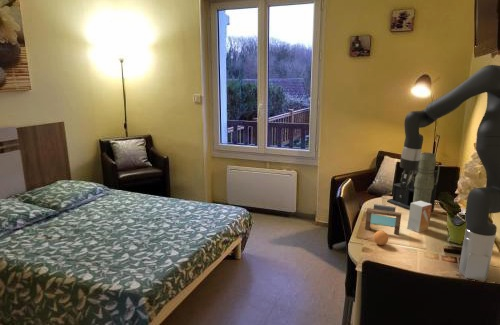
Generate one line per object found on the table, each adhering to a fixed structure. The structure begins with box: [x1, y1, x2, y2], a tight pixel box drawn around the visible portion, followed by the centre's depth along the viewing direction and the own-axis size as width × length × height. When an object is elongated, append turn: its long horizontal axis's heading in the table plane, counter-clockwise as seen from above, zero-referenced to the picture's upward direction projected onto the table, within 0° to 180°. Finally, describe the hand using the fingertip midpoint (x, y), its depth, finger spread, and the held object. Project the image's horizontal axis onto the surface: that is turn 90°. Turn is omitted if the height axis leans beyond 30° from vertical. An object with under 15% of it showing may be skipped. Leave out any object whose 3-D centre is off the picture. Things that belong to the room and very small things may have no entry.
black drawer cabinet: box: [386, 170, 438, 213], centre depth 204 cm, size 23×11×24 cm, turn 27°
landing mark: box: [370, 213, 396, 228], centre depth 184 cm, size 13×13×1 cm
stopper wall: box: [373, 203, 397, 212], centre depth 198 cm, size 2×11×3 cm, turn 68°
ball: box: [373, 230, 389, 246], centre depth 156 cm, size 6×6×6 cm
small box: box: [406, 201, 432, 234], centre depth 174 cm, size 8×6×13 cm
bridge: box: [364, 207, 402, 236], centre depth 171 cm, size 3×15×10 cm, turn 68°
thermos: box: [412, 152, 441, 203], centre depth 183 cm, size 9×12×35 cm
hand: (403, 192), depth 160 cm, fingers open, 8 cm apart
